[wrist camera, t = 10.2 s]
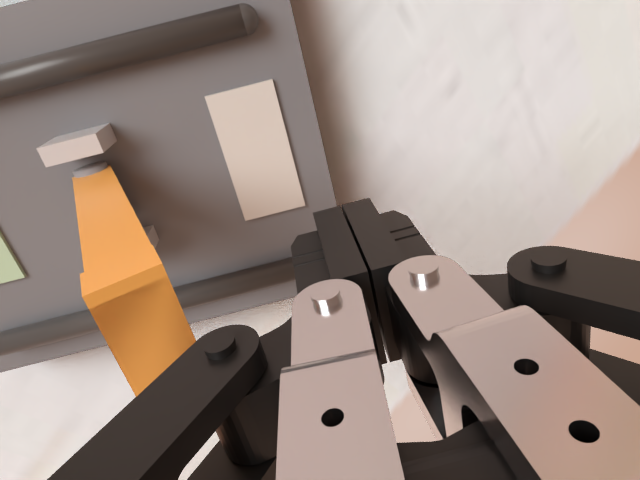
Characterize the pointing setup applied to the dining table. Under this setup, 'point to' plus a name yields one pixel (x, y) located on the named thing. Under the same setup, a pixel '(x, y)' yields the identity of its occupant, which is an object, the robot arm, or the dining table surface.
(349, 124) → the dining table surface
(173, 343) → the breaker lever
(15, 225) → the breaker panel
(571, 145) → the dining table surface
